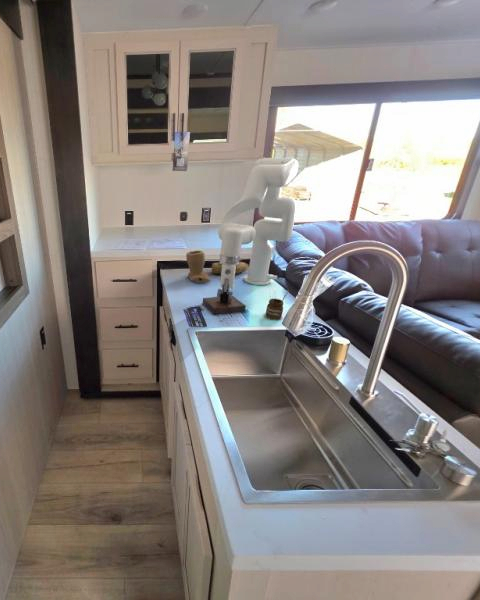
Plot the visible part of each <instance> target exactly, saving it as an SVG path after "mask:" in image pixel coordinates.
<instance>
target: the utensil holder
mask: <svg viewBox="0 0 480 600" xmlns="http://www.w3.org/2000/svg"><path fill="white" fill-rule="evenodd" d="M272 292H273V295H276V292H275V290H273V289H272V290H271V291H269V294H272ZM288 292H289V290H287V291H286V293H285V295H283V298H282V299H279V298H276V297H273V298H272V297H269V300H268V303H267V305H266V309H265V317H266V318H268V319H270V320H273V321H278V320H281V319H282V316H283V312H284V300H285V298H286V297H287V294H288Z"/></svg>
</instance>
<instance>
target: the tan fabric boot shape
mask: <svg viewBox="0 0 480 600" xmlns="http://www.w3.org/2000/svg"><path fill="white" fill-rule="evenodd" d="M185 256H186V262H187V266H188V268H189V272H188V275H187V276H188V278H189V279H190V281H192V282H195V283H197V284H206V283H209V282H211V279H210V277H209V275H208V274H207V273H206V272H205V271H204V268H205V267H204V266H205V263H206V254H205V252H204V251H202V250H191V251H188V252H186V255H185Z"/></svg>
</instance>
